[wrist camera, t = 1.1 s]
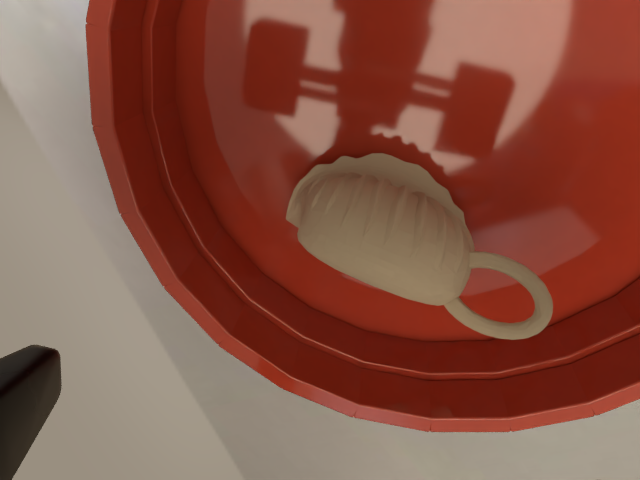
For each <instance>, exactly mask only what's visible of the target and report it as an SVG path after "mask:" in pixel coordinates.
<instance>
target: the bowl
mask: <svg viewBox="0 0 640 480" xmlns="http://www.w3.org/2000/svg"><path fill="white" fill-rule="evenodd" d="M86 22H87V24H86V41H87V56H88V71H89V87H90V102H91V117H92V125H93V131H94V134H95V137H96V140H97V144H98V147H99V150H100V153H101V156H102V159H103V163H104V166H105V169H106V172H107V175H108V179H109V182H110V185H111V188H112V191H113V195H114V198H115V201H116V204H117V207H118V210H119V213H120V214H121V217H122V219H123V220H124V222H125V224H126V225H127V227H128V229H129V230H130V232H131V234H132V236H133V237H134V239H135V241H136V242H137V244H138V246H139V247H140V249H141V251H142V252H143V254H144V256H145V257H146V259H147V261H148V262H149V264H150V266H151V267H152V269H153V271H154V273H155V274H156V276H157V278H158V279H159V281H160V283H161V284H162V286H164V288H165V290H166V291H167V292H168V293H169V294H170V295H171V296H172V297H173V298H174V299H175V300H176V301H177V302H178V303H179V304H180V305H181V306H182V308H183V309H184V310H185V311H186V312H187V313H188V314H189V315H190V316H191V317H192V318H193V319H194V320H195V321H196V322H197V323H198V324H199V325H200V326H201V327H202V329H203V330H204V331H205V332H206V333H207V334H208V335H209V336H210V337H211V338H212V339H213V340H214V341H215V342H216V343H217V344H219V346H220V347H221V348H223V349H224V350H226V351H227V352H229V353H230V354H231V355H233V356H234V357H236V358H237V359H239V360H240V361H242V362H243V363H245V364H246V365H248V366H249V367H251V368H252V369H254V370H255V371H257V372H258V373H260V374H261V375H263V376H264V377H265V378H267V379H268V380H270V381H271V382H273V383H274V384H276V385H277V386H279V387H280V388H283V389H284V390H287V391H289V392H291V393H294V394H296V395H299V396H301V397H304V398H306V399H309V400H311V401H313V402H316V403H318V404H321V405H323V406H326V407H328V408H331V409H333V410H335V411H338V412H340V413H343V414H345V415H348V416H350V417H353V416H354V417H355V418H359V419H364V420H369V421H374V422H379V423H385V424H390V425H395V426H400V427H405V428H411V429H416V430H421V431H426V432H429V431H431V432H510V430H511V431H512V432H514V431H519V430H524V429H530V428H535V427H540V426H546V425H551V424H556V423H561V422H567V421H572V420H577V419H583V418H588V417H593V416H594V414H595V415H600V414H602V413H605V412H607V411H610V410H612V409H615V408H618V407H620V406H623V405H625V404H628V403H630V402H633V401H635V400H638V399H640V0H90V1H89V6H88V12H87V17H86ZM372 153H383V154H387V155H391V156H393V157H396V158H398V159H400V160H402V161H404V162H408V163H412V164H417V165H419V166H421V167H422V168H424V169H425V170H426V171H428V173H429V174H430V175H431V176H432V178H433V179H434V180H435V181H436V182H437V183H438V184H440V185H441V186H443V187H444V188H446V189H447V190H448V191H449V194H450V196H451V198H452V201H453V203H454V204H455V205H456V206H457V207H458V208H459V209H461V210H462V211H463V212H464V219H465V224H466V226H467V228H468V230H469V232H470V234H471V237H472V240H473V243H474V247H475V251H479V252H489V253H495V254H499V255H502V256H505V257H508V258H510V259H512V260H514V261H516V262H518V263H520V264H522V265H524V266H526V267H527V268H528V269H530V270H531V271H532V272H534V273H535V274H536V275H537V276H538V277H539V278H540V279H541V280H542V281H543V283H544V284H545V285H546V287H547V289H548V291H549V293H550V295H551V297H552V301H553V313H552V317H551V320H550V321H549V323H548V325H547V326H546V327H545V328H544V329H543V330H542V331H541V332H540V333H538V334H537V335H534V336H531V337H529V338H525V339H516V340H509V339H499V338H495V337H491V336H487V335H484V334H481V333H479V332H477V331H474V330H472V329H471V328H469V327H467V326H465V325H464V324H462V323H461V322H460V321H458V320H457V319H456V318H455V317H454V316H453V315H452V314H451V313H449V312H448V310H447V309H446V308H445V306H444V305H440V306H436V305H430V304H425V303H421V302H417V301H413V300H409V299H406V298H403V297H400V296H398V295H395V294H392V293H390V292H387V291H385V290H382V289H379V288H377V287H374V286H372V285H369V284H367V283H364V282H362V281H360V280H358V279H356V278H353V277H351V276H349V275H347V274H345V273H342V272H340V271H338V270H336V269H334V268H332V267H331V266H329V265H327V264H325V263H324V262H322V261H320V260H319V259H317V258H316V257H315V256H313V255H312V254H311V253H309V252H308V251H307V250H306V249H305V248H304V247H303V246H302V244H301V243H300V242H299V241H298V236H297V233H298V229H299V228H298V227H296V226H295V225H293V224H292V223H290V222H289V221H287V220H286V213H287V209H288V205H289V201H290V199H291V196H292V193H293V190H294V188H295V187H296V186H297V184H298V183H299V181H300V180H301V179H303V178H304V177H305V176H306V175H307V174H308V173H309V172H310V171H311V169H312V168H313V167H315V166H316V165H319V164H332V163H334V162H335V161H336V160H337V159H339V158H340V157H341V156H348V157H352V158H361V157H364V156H366V155H369V154H372ZM459 298H460V299H461V300H462V301H463V303H464V304H465V305H466V306H467V307H469V308H470V309H471V310H473V311H474V312H476V313H477V314H479V315H481V316H483V317H485V318H487V319H491V320H494V321H497V322H505V323H517V322H522V321H525V320H527V319H528V318H530V317H531V316H532V315H533V313H534V310H535V303H534V300H533V297H532V295H531V293H530V292H529V291H528V290H527V289H526V288H525V287H524V286H523V285H522V284H520V283H519V282H518V281H517V280H515V279H514V278H512V277H510V276H508V275H507V274H504V273H502V272H499V271H497V270H492V269H487V268H473V269H471V273H470V276H469V279H468V281H467V284H466V286H465V288H464V290H463V291H462V293H461V294H460V296H459Z"/></svg>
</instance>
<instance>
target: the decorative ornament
mask: <svg viewBox="0 0 640 480" xmlns="http://www.w3.org/2000/svg"><path fill="white" fill-rule="evenodd" d="M286 220H287V221H289V222H290V223H292V224H293V225H295V226H296V227H298V228H299V229H298V233H297V236H298V241H299V242H300V243H301V244H302V246H303V247H304V248H305V249H306V250H307V251H308V252H309V253H311V254H312V255H313V256H315V257H316V258H317V259H319V260H320V261H322V262H324V263H325V264H327V265H329V266H331V267H332V268H334V269H336V270H338V271H340V272H342V273H345V274H347V275H349V276H351V277H353V278H356V279H358V280H360V281H362V282H364V283H367V284H369V285H372V286H374V287H377V288H379V289H382V290H385V291H387V292H390V293H392V294H395V295H398V296H400V297H403V298H406V299H409V300H413V301H417V302H421V303H425V304H430V305H436V306H440V305H444V306H445V308H446V309H447V310H448V312H449V313H451V314H452V315H453V316H454V317H455V318H456V319H457V320H458V321H460V322H461V323H462V324H464V325H465V326H467V327H469V328H471V329H472V330H474V331H477V332H479V333H481V334H484V335H487V336H491V337H495V338H499V339H509V340H516V339H525V338H529V337H531V336H534V335H537V334H538V333H540V332H541V331H542V330H543V329H544V328H545V327H546V326H547V325H548V323H549V321H550V320H551V317H552V313H553V301H552V297H551V295H550V293H549V291H548V289H547V287H546V285H545V284H544V283H543V281H542V280H541V279H540V278H539V277H538V276H537V275H536V274H535V273H534V272H532V271H531V270H530V269H528V268H527V267H526V266H524V265H522V264H520V263H518V262H516V261H514V260H512V259H510V258H508V257H505V256H502V255H499V254H495V253H489V252H479V251H475V247H474V243H473V240H472V237H471V234H470V232H469V230H468V228H467V226H466V224H465V219H464V212H463V211H462V210H461V209H459V208H458V207H457V206H456V205H455V204H454V203H453V201H452V198H451V196H450V194H449V191H448V190H447V189H446V188H444V187H443V186H441V185H440V184H438V183H437V182H436V181H435V180H434V179H433V178H432V176H431V175H430V174H429V173H428V171H426V170H425V169H424V168H422V167H421V166H419V165H417V164H412V163H408V162H404V161H402V160H400V159H398V158H396V157H393V156H391V155H387V154H383V153H372V154H369V155H366V156H364V157H361V158H352V157H348V156H341V157H340V158H339V159H337V160H336V161H335V162H334V163H332V164H319V165H316V166H315V167H313V168H312V169H311V171H310V172H309V173H308V174H307V175H306V176H305V177H304V178H303V179H301V180H300V181H299V183H298V184H297V186H296V187H295V188H294V190H293V193H292V196H291V199H290V201H289V205H288V209H287V213H286ZM473 268H487V269H492V270H497V271H499V272H502V273H504V274H507V275H508V276H510V277H512V278H514V279H515V280H517V281H518V282H519V283H520V284H522V285H523V286H524V287H525V288H526V289H527V290H528V291H529V292H530V293H531V295H532V297H533V300H534V303H535V310H534V313H533V315H532V316H531V317H530V318H528V319H527V320H525V321H522V322H517V323H505V322H497V321H494V320H491V319H487V318H485V317H483V316H481V315H479V314H477V313H476V312H474V311H473V310H471V309H470V308H469V307H467V306H466V305H465V304H464V303H463V301H462V300H461V299H460V298H459V296H460V294H461V293H462V291H463V290H464V288H465V286H466V284H467V281H468V279H469V276H470V273H471V269H473Z"/></svg>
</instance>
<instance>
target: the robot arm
mask: <svg viewBox="0 0 640 480" xmlns="http://www.w3.org/2000/svg"><path fill="white" fill-rule="evenodd" d="M60 391H61V364H60V354H59V352H58V351H57V350H55V349H52V348H48V347H44V346H40V345H31V346H28V347H26V348H23V349H21V350H19V351H16V352H14V353H12V354H10V355H7V356H5V357H3V358H0V480H12V478H13V476H14V475H15V473H16V471H17V469H18V468H19V466H20V464H21V462H22V461H23V459H24V457H25V456H26V454H27V452H28V450H29V449H30V447H31V445H32V443H33V442H34V440H35V438H36V436H37V435H38V433H39V431H40V430H41V428H42V426H43V424H44V423H45V421H46V419H47V418H48V415H49V414H50V412H51V411H52V409H53V407H54V405H55V404H56V402H57V400H58V398H59V395H60Z"/></svg>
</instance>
